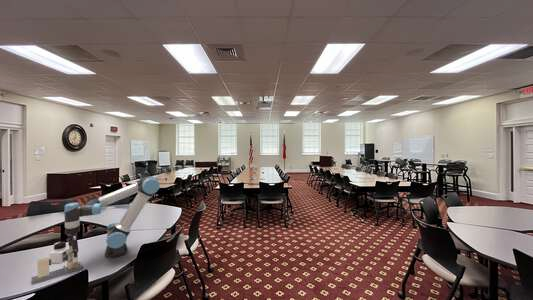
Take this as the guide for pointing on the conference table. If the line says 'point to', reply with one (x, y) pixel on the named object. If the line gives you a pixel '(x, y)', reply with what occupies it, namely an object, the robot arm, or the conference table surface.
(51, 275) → the rail
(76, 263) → the tan box
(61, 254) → the container
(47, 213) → the conference table surface
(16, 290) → the conference table surface
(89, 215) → the robot arm
